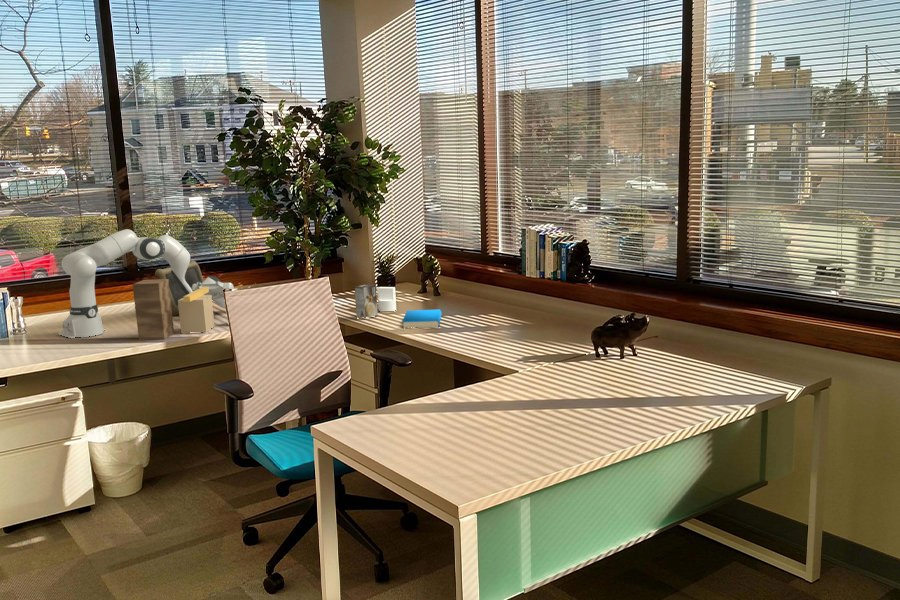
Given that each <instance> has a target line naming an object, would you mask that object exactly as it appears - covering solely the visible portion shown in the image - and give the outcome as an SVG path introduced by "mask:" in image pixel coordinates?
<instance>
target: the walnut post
mask: <svg viewBox="0 0 900 600" xmlns="http://www.w3.org/2000/svg"><path fill="white" fill-rule="evenodd" d="M132 290H133V300H134V307H135V317H136V318H135V319H136V324H137V325H136V326H137V335H138V340H139V341H152V340H156V341H157V340H166V339H167V338H169V337H170V335H171V336H173V335H174V334H175V329H174V319H173V316H172V308H171V299H170V289H169V280H168V279H143V280H140V281H138V282H137V281H136V282H134V283H133V284H132ZM173 333H174V334H173Z"/></svg>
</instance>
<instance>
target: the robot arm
mask: <svg viewBox="0 0 900 600" xmlns="http://www.w3.org/2000/svg"><path fill="white" fill-rule="evenodd" d="M127 253H130V254H131V255H132V256H133V257H135V258H137V259H141V260H145V261H147V260H148V261H149V260H152V261H153V260H155V259H158V258H159V257H160V256H161V257H162V258H163V259H164V261H166V262H167V263H168V264H169V266H170V267H171V274H172V276H173V278H174V279H175V281H176V282H177V283H178V285H179V286H180V287H181V289H182V290H183V291H184V293H185V294H186V295H188V294H190V293H192V292H194V291H196V290H198V289H200V288H202V287H209V292H208V293H206V294H204V295H212V302H214V303H215V304H216V305H217V306H219V307H220V308H223V309H226V308H225V301H224V297H223V290H224V289H234V290H235V287H234V284H233V283H232V282H223V281H221V280H220V279H219V278H218V277H216V276H212V275H211V276H207V277H206V278H205V279H204V281H203V282H202V283H203V284H201V282H197V284H193V285H192V289H191V288H190V286H189V285H188V284H187V282H186V281H185V273H186V270H187V268H188V266H189V263H190V261H191V255H190V252H189V251H188V250H187V249H186V247H184V245H183V244H181V243H180V242H179V241H178V240H177V239H175V238H174V237H173V236H171V235H169V234H163V235H161V236H159V237H158V238H154V237H153V238H152V237H147V236H146V237H143V236H142V237H141V236H140V237H138V236H137V234H136V233H135V231H133V230H131V229H129V228H126V229H122V230H119V231H117V232H114V233H112V234H110V235H108V236H106V237H105V238H102V239H100V240H99V241H97V242H95V243H93V244H90V245H87V246H86V247H83V248H80V249H78V250H75V251H73V252H71V253H68V254H67V255H65V256H64V257H63V258H62V260H61V267H62V270H63V271H64V272H65V273H66V274H67V275H68V276H70V285H69V286H70V288H69V290H68V292H69V299H70V307H69V308H68V311H69V315H68V317H66V318H65V320H64V321H62V331H59V332H58V333H57V335H58V334H59V335H58V336H60V335H62V336H61V337H63V336H65V337H64V338H66V337H68V338H67V339H70V338H71V339H76V338H75V337H81V338H89V336H90V337H95V335H96V336H100V335H101V334H104V332H105V331H106V328H104V326H103V322H102V317H101V314H99V307H98V304H97V300H96V298H97V297H96V291H95V288H96V287H95V283H96V272H97V268H98V267H101V266H103V265H104V266H105V265H107V264H109V263H111V262H113V261H114V260H116V259H118V258H120V257H121V256H123V255H125V254H127ZM104 330H105V331H104ZM103 331H104V332H103Z"/></svg>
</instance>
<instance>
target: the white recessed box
mask: <svg viewBox="0 0 900 600" xmlns="http://www.w3.org/2000/svg"><path fill="white" fill-rule="evenodd" d="M396 294H397V293H396V286H378V287H377V305H378V312H379V311H394V312H396V311H397V298H396V297H397V296H396ZM395 310H396V311H395Z"/></svg>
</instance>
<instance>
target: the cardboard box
mask: <svg viewBox="0 0 900 600" xmlns="http://www.w3.org/2000/svg"><path fill="white" fill-rule="evenodd" d="M178 307H179V315H178V318H179V323H180V333H190V332H206V331H208V330H209V329H211V328H213V327H214V326H215V317H214V309H213V307H214V306H213V300H212V295H202V296H200V297H198V298H196V299H194V300H193V301H191V302H184V299H183V298H182V299H180V300H178ZM213 329H214V328H213Z"/></svg>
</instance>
